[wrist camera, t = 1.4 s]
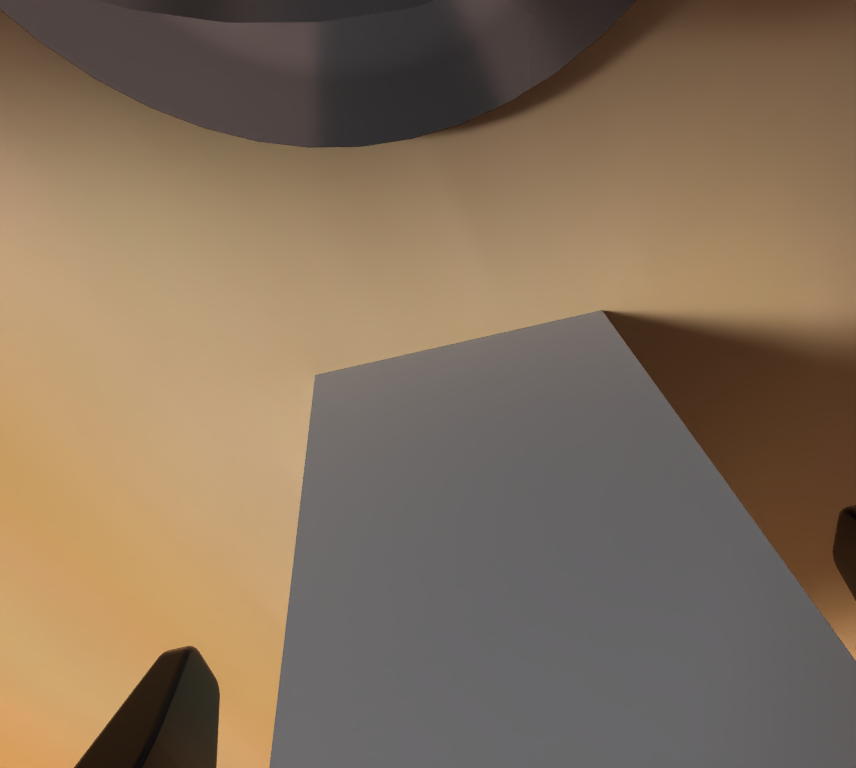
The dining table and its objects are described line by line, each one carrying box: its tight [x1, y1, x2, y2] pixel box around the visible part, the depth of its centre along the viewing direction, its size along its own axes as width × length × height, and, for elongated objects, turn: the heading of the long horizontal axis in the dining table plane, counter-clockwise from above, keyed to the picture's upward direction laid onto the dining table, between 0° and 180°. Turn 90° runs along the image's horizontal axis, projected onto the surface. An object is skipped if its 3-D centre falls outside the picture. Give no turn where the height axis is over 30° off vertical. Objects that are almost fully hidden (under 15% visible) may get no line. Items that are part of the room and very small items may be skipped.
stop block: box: [270, 310, 856, 768], centre depth 8 cm, size 4×4×7 cm
